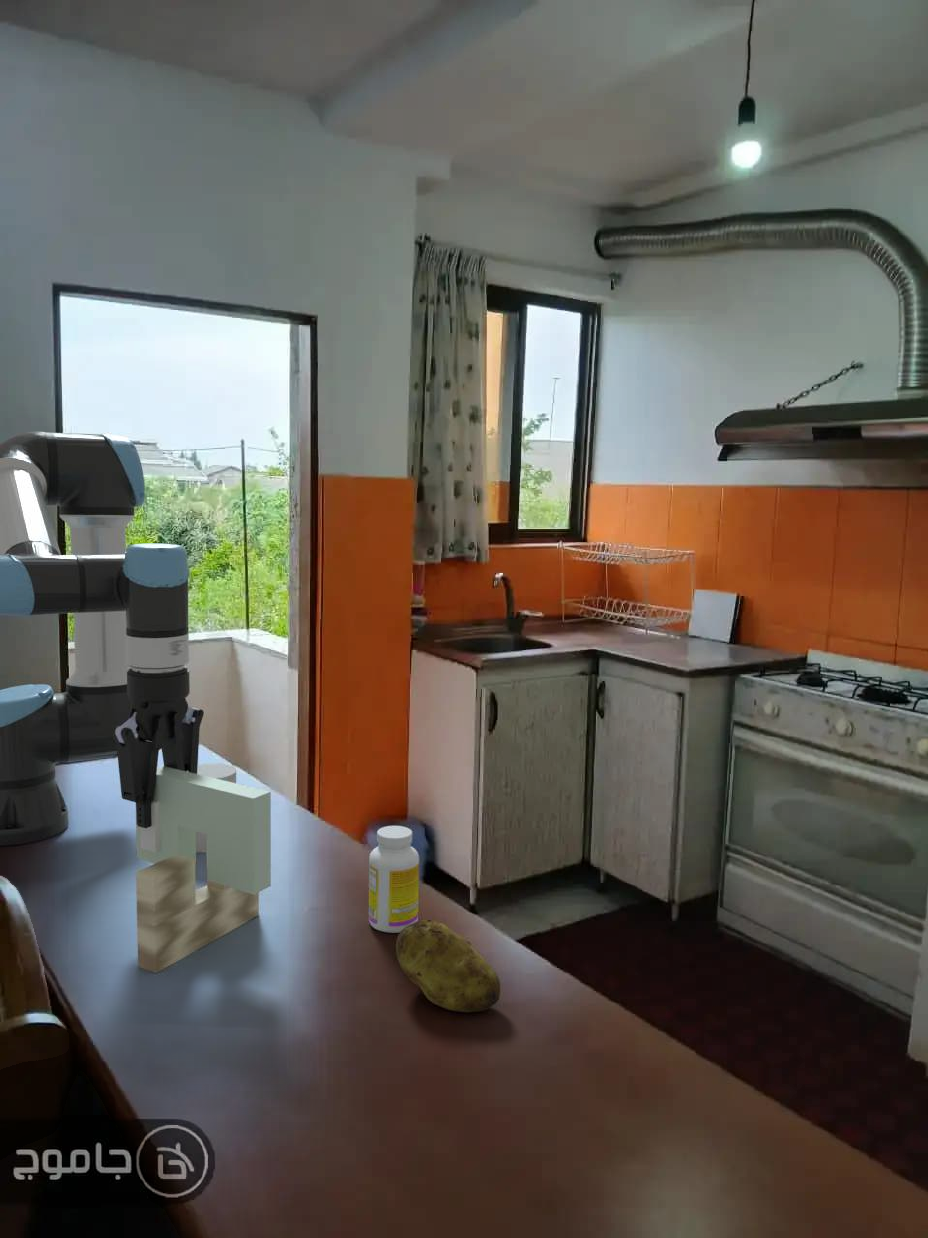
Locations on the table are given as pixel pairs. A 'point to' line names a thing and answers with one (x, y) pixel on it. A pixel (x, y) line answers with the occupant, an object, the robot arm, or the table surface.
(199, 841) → the grey cylinder
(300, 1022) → the table surface
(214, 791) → the sage slat
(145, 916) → the notched wooden block
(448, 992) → the potato
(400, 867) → the supplement bottle
